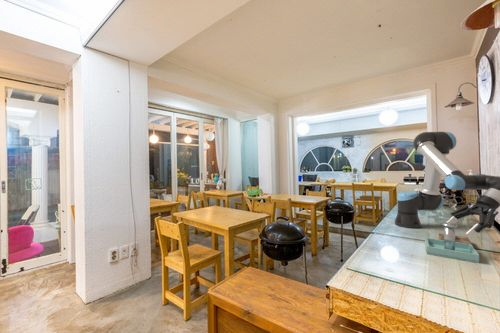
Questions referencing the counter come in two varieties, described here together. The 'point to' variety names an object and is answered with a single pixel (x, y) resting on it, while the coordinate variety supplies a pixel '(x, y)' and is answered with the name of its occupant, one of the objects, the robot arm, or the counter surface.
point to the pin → (449, 235)
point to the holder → (458, 239)
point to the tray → (460, 253)
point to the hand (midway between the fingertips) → (456, 231)
